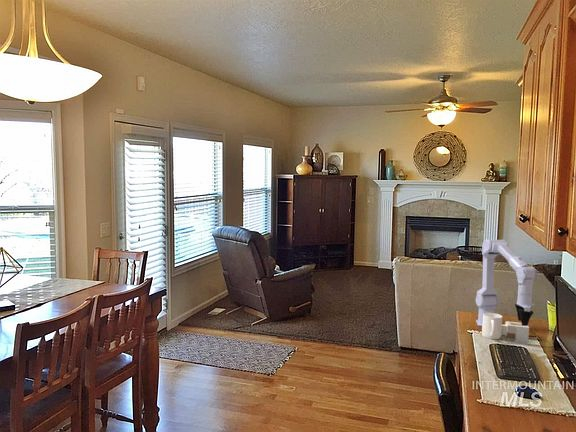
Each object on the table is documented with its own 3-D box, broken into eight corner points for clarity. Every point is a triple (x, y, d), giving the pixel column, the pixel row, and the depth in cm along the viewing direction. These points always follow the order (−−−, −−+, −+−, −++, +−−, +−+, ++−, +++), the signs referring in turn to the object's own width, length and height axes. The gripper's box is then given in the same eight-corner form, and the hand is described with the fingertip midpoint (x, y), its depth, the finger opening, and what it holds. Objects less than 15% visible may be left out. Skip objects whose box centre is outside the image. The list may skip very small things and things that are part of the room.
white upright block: (514, 342, 214) (515, 327, 214) (526, 343, 213) (527, 328, 213) (515, 343, 213) (516, 328, 212) (527, 345, 211) (528, 329, 211)
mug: (502, 343, 212) (503, 321, 211) (482, 340, 215) (484, 318, 214) (500, 335, 223) (501, 314, 222) (481, 332, 226) (482, 311, 225)
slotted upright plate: (483, 330, 230) (484, 319, 230) (525, 334, 226) (526, 323, 225) (485, 334, 224) (486, 323, 223) (528, 339, 219) (529, 327, 218)
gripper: (538, 298, 203) (536, 329, 204) (531, 290, 217) (528, 319, 218) (520, 296, 205) (518, 327, 206) (514, 289, 219) (512, 317, 220)
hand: (522, 323), depth 212 cm, fingers open, 7 cm apart
